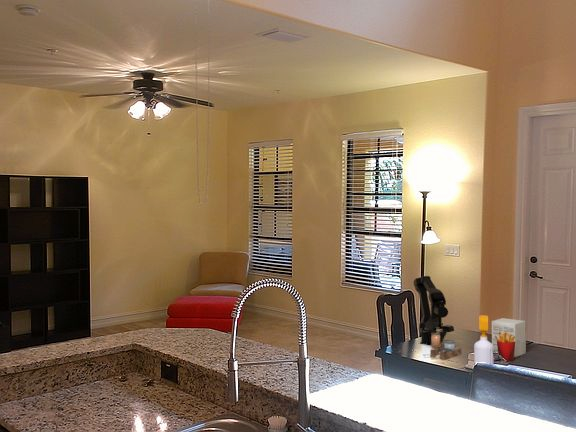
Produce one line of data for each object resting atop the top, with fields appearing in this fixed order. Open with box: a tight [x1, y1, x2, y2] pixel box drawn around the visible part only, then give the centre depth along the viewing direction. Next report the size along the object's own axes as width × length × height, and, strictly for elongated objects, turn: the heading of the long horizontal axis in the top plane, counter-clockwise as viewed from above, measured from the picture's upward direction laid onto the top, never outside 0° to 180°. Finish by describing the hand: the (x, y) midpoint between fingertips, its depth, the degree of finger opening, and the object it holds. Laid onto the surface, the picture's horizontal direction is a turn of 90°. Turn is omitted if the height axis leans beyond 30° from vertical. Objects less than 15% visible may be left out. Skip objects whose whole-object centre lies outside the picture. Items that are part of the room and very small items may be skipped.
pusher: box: [439, 346, 452, 354], centre depth 305 cm, size 7×6×4 cm
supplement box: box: [491, 317, 527, 358], centre depth 311 cm, size 13×13×18 cm
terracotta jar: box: [430, 330, 443, 347], centre depth 321 cm, size 6×6×7 cm
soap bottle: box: [473, 314, 495, 364], centre depth 286 cm, size 9×9×25 cm
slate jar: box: [443, 339, 456, 351], centre depth 310 cm, size 6×6×7 cm
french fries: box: [495, 331, 515, 362], centre depth 295 cm, size 9×8×15 cm
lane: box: [429, 346, 462, 361], centre depth 307 cm, size 17×9×4 cm, turn 135°
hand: (436, 342), depth 321 cm, fingers closed on terracotta jar, 5 cm apart
